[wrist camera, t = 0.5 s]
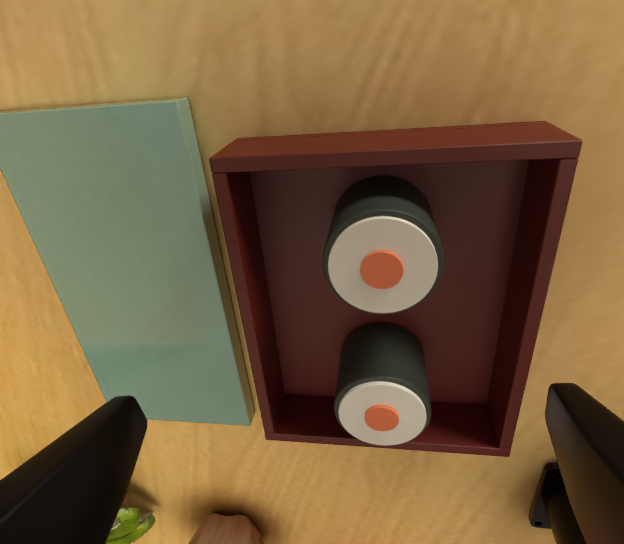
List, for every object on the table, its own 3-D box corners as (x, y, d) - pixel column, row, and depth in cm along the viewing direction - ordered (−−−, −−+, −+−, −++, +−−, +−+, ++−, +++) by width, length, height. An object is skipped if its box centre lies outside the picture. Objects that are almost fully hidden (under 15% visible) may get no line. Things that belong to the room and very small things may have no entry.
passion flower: (112, 457, 43) (-26, 547, 36) (95, 404, 36) (-83, 504, 28) (171, 552, 38) (24, 679, 31) (164, 513, 31) (-29, 668, 23)
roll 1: (429, 265, 20) (441, 322, 16) (335, 266, 21) (324, 320, 17) (435, 172, 18) (450, 211, 14) (330, 177, 19) (316, 214, 15)
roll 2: (421, 386, 24) (429, 455, 20) (342, 382, 25) (335, 448, 21) (425, 322, 22) (435, 386, 18) (339, 320, 22) (329, 381, 19)
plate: (255, 412, 28) (250, 426, 27) (122, 404, 30) (112, 417, 29) (188, 96, 18) (176, 100, 17) (-4, 111, 20) (-26, 115, 19)
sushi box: (493, 404, 25) (509, 457, 22) (279, 393, 27) (265, 440, 24) (546, 120, 17) (583, 140, 14) (236, 138, 19) (208, 158, 16)
